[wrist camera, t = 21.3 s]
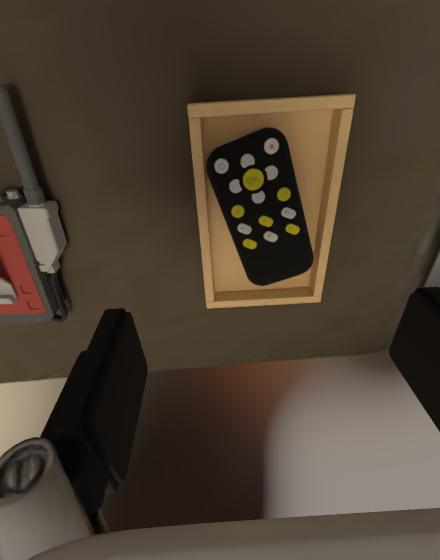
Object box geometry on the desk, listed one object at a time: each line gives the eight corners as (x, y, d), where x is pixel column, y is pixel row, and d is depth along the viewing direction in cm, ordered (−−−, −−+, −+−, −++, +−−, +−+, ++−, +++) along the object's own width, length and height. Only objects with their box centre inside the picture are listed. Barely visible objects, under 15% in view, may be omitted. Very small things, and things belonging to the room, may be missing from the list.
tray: (189, 103, 21) (187, 104, 19) (344, 93, 21) (356, 94, 19) (206, 296, 30) (206, 308, 28) (314, 290, 30) (320, 302, 28)
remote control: (250, 281, 29) (252, 293, 27) (200, 151, 22) (199, 156, 20) (312, 261, 28) (319, 272, 26) (279, 118, 21) (285, 120, 19)
